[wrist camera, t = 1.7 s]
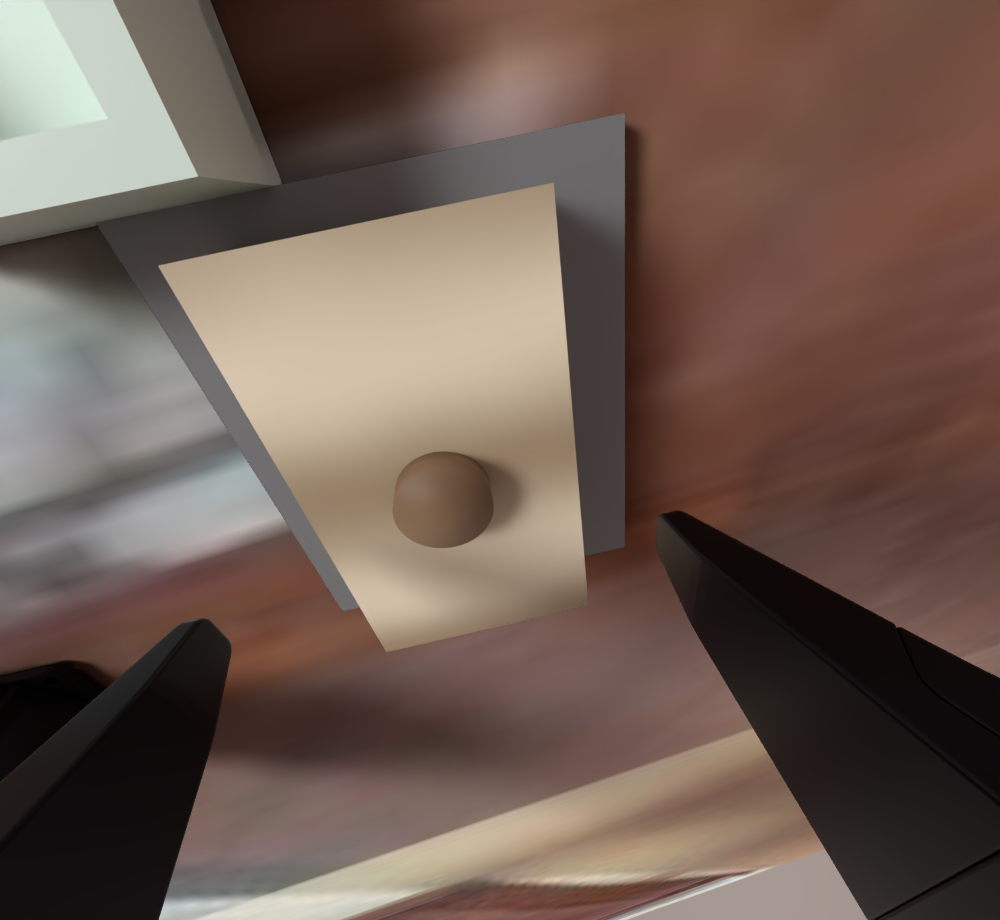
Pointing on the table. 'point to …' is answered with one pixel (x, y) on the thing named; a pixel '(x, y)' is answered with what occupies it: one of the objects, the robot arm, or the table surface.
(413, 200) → the mat
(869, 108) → the table surface
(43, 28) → the dish
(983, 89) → the table surface
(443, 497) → the lid
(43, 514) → the table surface
